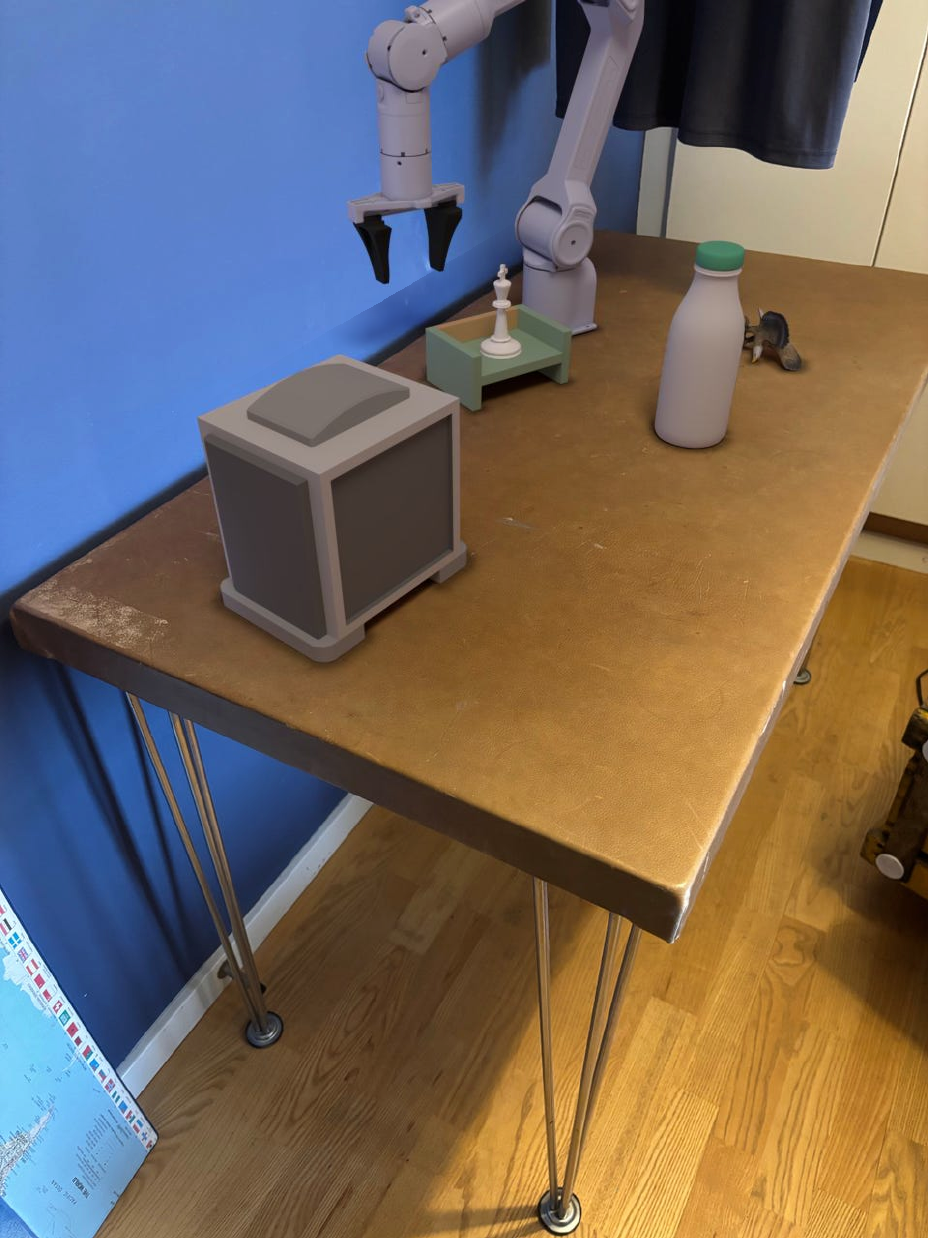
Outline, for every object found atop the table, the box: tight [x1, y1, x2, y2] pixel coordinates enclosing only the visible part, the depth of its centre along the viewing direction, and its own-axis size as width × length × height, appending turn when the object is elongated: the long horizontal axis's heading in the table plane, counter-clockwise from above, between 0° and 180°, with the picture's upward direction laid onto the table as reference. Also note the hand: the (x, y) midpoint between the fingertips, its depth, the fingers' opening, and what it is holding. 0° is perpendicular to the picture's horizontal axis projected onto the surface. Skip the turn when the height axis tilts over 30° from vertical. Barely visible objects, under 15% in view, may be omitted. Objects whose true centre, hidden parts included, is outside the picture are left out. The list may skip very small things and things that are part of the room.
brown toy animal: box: [742, 307, 803, 372], centre depth 114 cm, size 8×7×9 cm
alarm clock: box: [196, 353, 468, 663], centre depth 74 cm, size 18×13×18 cm
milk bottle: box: [654, 240, 746, 449], centre depth 94 cm, size 8×8×20 cm
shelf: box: [425, 303, 573, 412], centre depth 109 cm, size 14×10×6 cm
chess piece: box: [480, 263, 522, 359], centre depth 105 cm, size 5×5×10 cm
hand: (410, 275), depth 109 cm, fingers open, 7 cm apart
